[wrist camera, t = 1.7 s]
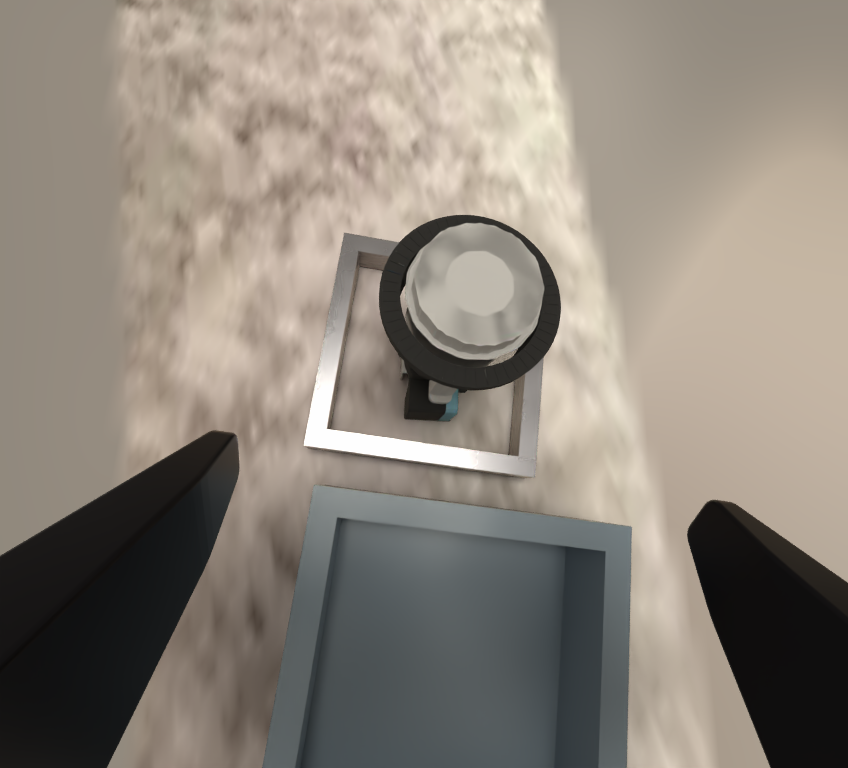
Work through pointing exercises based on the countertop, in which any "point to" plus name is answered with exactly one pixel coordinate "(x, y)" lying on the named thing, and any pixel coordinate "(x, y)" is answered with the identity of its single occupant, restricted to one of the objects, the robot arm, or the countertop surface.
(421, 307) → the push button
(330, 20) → the countertop surface
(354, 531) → the plastic bin
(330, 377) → the silver picture frame
